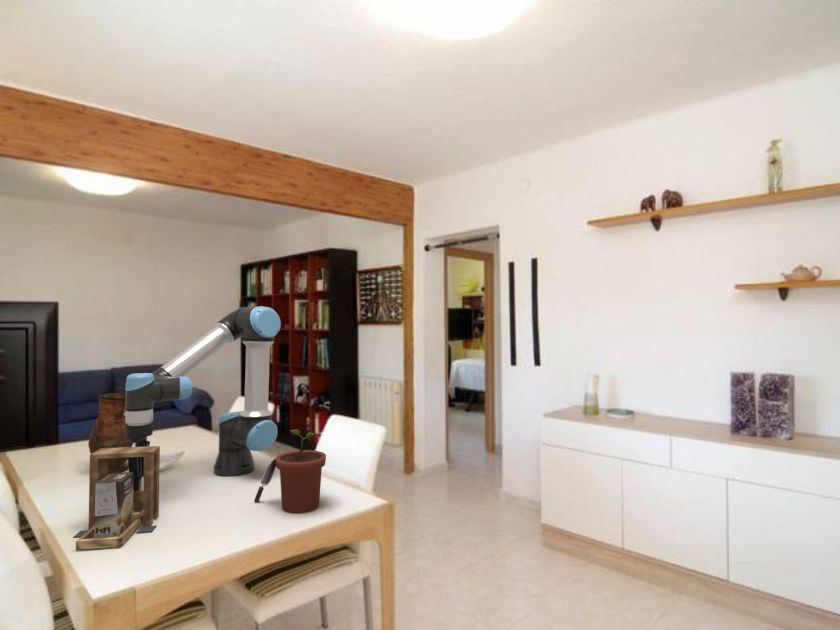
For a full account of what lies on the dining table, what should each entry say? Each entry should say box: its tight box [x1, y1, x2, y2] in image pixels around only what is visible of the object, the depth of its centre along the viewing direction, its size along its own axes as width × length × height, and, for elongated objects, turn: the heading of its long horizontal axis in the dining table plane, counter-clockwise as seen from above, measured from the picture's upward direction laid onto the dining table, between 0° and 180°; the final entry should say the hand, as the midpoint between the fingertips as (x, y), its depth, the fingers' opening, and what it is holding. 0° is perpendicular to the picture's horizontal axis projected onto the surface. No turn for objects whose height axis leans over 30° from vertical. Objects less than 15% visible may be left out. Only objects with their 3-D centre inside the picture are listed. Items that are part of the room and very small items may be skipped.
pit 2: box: [135, 525, 158, 534], centre depth 137 cm, size 4×4×1 cm
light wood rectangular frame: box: [75, 490, 144, 550], centre depth 138 cm, size 11×26×6 cm, turn 11°
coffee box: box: [93, 471, 134, 539], centre depth 133 cm, size 9×6×16 cm
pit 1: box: [72, 529, 89, 539], centre depth 134 cm, size 4×4×1 cm
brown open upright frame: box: [88, 445, 161, 530], centre depth 141 cm, size 16×7×21 cm, turn 101°
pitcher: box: [88, 392, 131, 475], centre depth 193 cm, size 17×21×30 cm
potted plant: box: [254, 429, 327, 515], centre depth 157 cm, size 18×22×25 cm
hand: (137, 499), depth 151 cm, fingers closed
